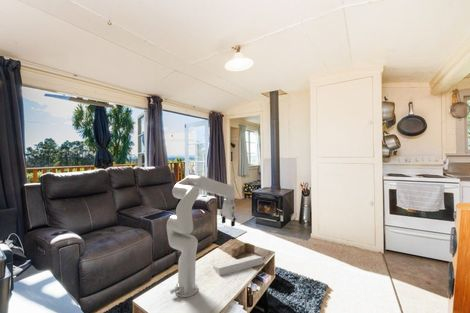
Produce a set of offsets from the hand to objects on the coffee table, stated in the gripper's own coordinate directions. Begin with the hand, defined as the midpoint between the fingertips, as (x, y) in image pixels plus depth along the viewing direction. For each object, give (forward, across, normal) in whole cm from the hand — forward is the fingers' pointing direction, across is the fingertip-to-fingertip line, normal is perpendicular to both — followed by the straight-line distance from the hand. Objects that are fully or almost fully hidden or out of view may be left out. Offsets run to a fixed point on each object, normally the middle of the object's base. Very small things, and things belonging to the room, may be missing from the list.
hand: (228, 224), depth 157 cm
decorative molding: (+27, -12, 0) cm, 29 cm away
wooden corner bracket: (+26, -4, -15) cm, 30 cm away
